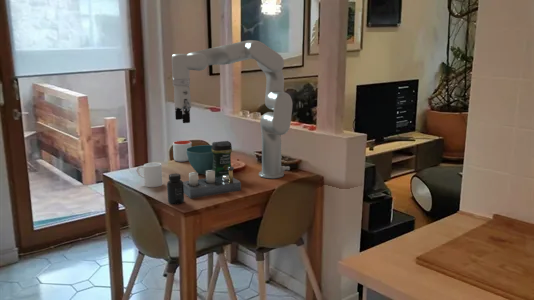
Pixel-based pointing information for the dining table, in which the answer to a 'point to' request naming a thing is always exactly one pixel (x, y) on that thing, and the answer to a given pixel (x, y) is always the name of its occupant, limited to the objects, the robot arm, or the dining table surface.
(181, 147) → the cup
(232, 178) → the post
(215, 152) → the coffee jar
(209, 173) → the knob mid
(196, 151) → the teal bowl
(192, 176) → the knob far
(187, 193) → the mount
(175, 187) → the supplement bottle
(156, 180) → the mug
